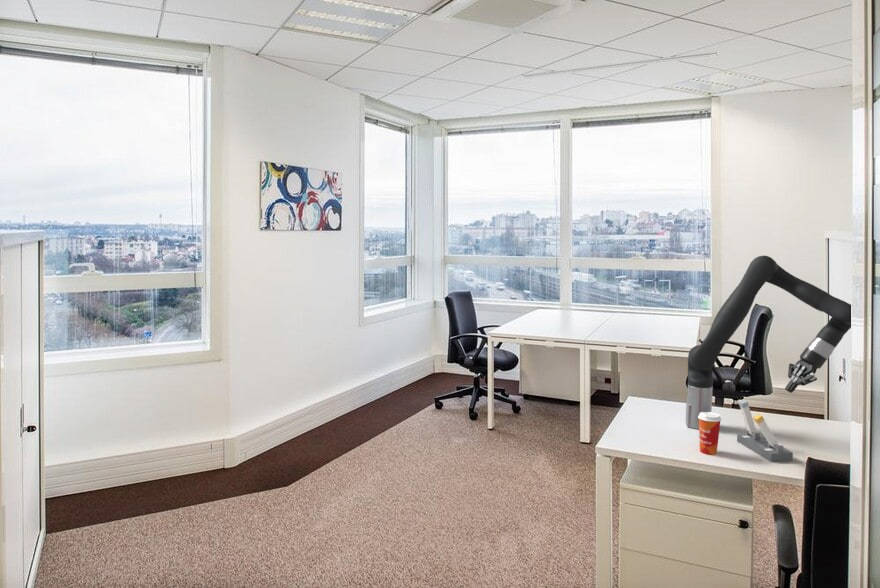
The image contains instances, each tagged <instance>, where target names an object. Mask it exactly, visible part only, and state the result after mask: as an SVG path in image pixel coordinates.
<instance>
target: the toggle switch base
mask: <svg viewBox="0 0 880 588" xmlns="http://www.w3.org/2000/svg"><path fill="white" fill-rule="evenodd" d="M737 441H738V444H740V443H741V444H740V445H742V446H744V447H745V446H746V447H745V448H747V449H749V450H750V451H751V452H754V453H755V454H757V455H758V456H760V457H762V458H763V459H764V460H766V461H768V462H770V463H775V462H777V463H778V462H793V459H794V458H793V456H794V452H793V451H791V450H788V449H787V448H785V447H784V445H780V444H779V443H777V444H775V445H777V449H775V448H774V447H772V446H771V445H770V444H769V443H768V441H767V440H766V438H765V436H764V435H763V434H762V435H761V433H760V432H754V436H753V435H751V434H749V431H748V430H747V428H746V433H745V432H744V433H737V434H736V442H737Z"/></svg>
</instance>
